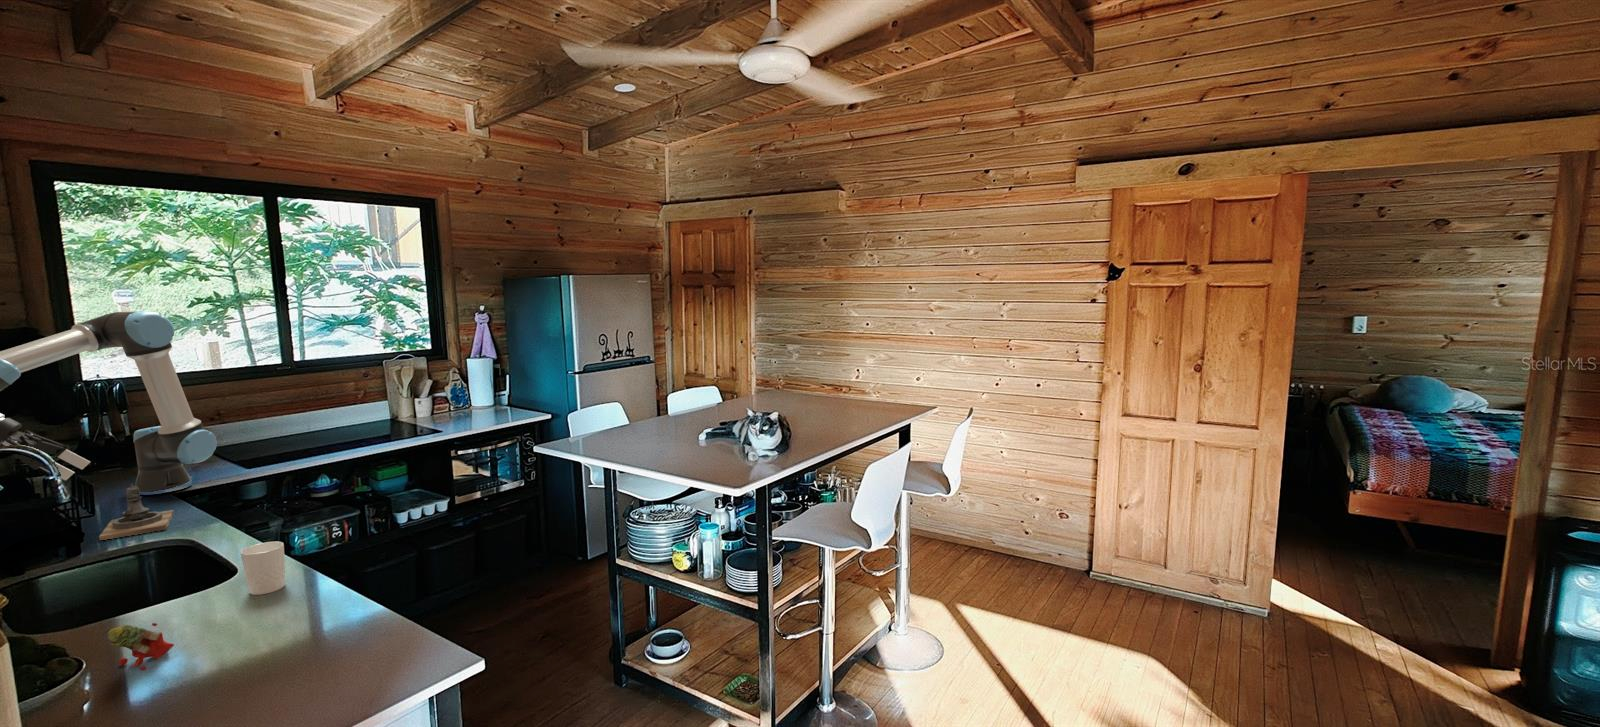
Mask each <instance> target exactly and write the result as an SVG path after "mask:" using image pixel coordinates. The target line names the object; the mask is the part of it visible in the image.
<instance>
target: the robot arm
mask: <svg viewBox="0 0 1600 727" xmlns="http://www.w3.org/2000/svg"><path fill="white" fill-rule="evenodd" d="M173 337H175V329H174V324H172V322H171V321H170V320H169V318H168V317H165V316H164V315H163V314H161V313H158V312H152V311H145V310H141V311H116V312H111V313H106V314H103V315H100V316H98V317H94V318H92V319H88V320H85V321H82V322H80V323H76V324H74V325H72V326H71V329H69V330H64V331H62V332H59V333H55V334H53V335H52V334H51V335H49V336H45V337H43V338H39V339H36V340H33V341H29V342H27V343H23V344H21V345H17V346H14V347H11V348H10V347H9V348H7V349H4V350H0V392H1V391H4V389H6V388H8V387H9V386H10V385H12V384H13V383H14V382H15V381H16V380H18V379H19V378H20V377H21V375H22V373H24V372H28V371H30V370H33V369H36V368H38V367H39V368H40V367H41V366H45V365H48V364H51V363H54V362H57V361H60V360H63V359H65V358H68V357H71V356H74V355H77V354H80V353H84V352H89V353H94V352H97V351H100V350H103V349H110V348H122V349H123V351H124V355H125V357H127V358H130V359H132V360H134V362H135V364H136V367H137V369H138V372H139V375H140V377H141V380H142V382H143V385H144V387H145V389H146V392H147V394H148V396H149V399H150V402H151V404H152V406H153V408H154V411H155V413H156V416H157V418H158V421H159V423H160V425H158V426H151V427H146V428H141V429H138V430H135V431H134V433H133V443H134V444H133V445H134V449H135V450H134V451H135V456H136V463H137V470H138V471H137V477H136V479H135V483H134V486H136V487H138V488H139V492H154V491H159V490H165V489H169V488H173V487H176V486H180V485H183V484H185V483H187V482H189V481H190V480H191V481H192V478H191V476H190V474H188V472H187V470H186V468H185V467H184V464H186V465H187V464H188V465H191V464H198V463H202V462H205V461H206V460H208V459H210V457H212V455H214V452H215V451H216V448H217V444H218V443H217V437H216V435H215V434H214V433H213V432H212V431H210V430H208V429H205V428H204V425H203V422H202V420H201V419H198V418H195V417H194V415H193V413H192V410H191V407H190V405H189V402H188V400H187V397H186V395H185V392H184V390H183V387H182V385H181V382H180V379H179V377H178V374H177V372H176V368H175V366H174V364H173V361H172V359H171V356H170V354H169V352H170V351H171V350H172V349H173V345H172V343H171V342H172V341H173ZM5 417H6V416H5V414H3V413H1V412H0V447H1V448H2V447H3V446H9V445H26V446H30V447H34V448H36V449H39V450H38V451H40V450H41V451H40V452H43V453H47V454H50V455H54V456H57V458H58V459H60V460H62V461H64V462H66V463H68V464H70V465H72V466H74V467H75V468H78V469H80V470H84V469H85V467H87V466H88V465H89V464H90V463H91V460H88V459H86V458H85V457H82V456H80V455H78V454H77V453H75V452H73V451H71V450H70V449H68V448H69V447H70V446H69V445H67V444H63V443H60V442H58V441H55V440H52V439H50V438H48V437H44V436H41V435H39V434H36V433H34V432H33V431H30V430H25V431H24V432H22V431H19V430H20V429H21V428H22V425H23V424H21V423H20V422H19V421H17V420H14V419H13V418H11V417H6V418H5ZM12 455H14V456H15V457H16V458H18V460H20V461H22V462H23V463H24V464H25V465H27V466H28V467H30V468H31V469H33V470H37V469H41V470H42V471H43V470H44V471H45V472H48V473H50V471H49V469H48V468H47V467H46V466H44V465H43V464H42V463H40V462H38V461H37V460H34V459H32V458H29V457H26V456H23V455H18V454H12ZM54 462H55V465H56V467H57V468H58V470H59V472H60V474H61V478H60V479H61V480H63V481H67V480H68V479H70V478H71V477H72V476H73V475H74V474H75V473H76V472H75V471H73V470H71V469H70V468H67V467H66V466H64V465H62V464H60V463H58V462H56V461H54ZM50 474H51V473H50Z"/></svg>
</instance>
